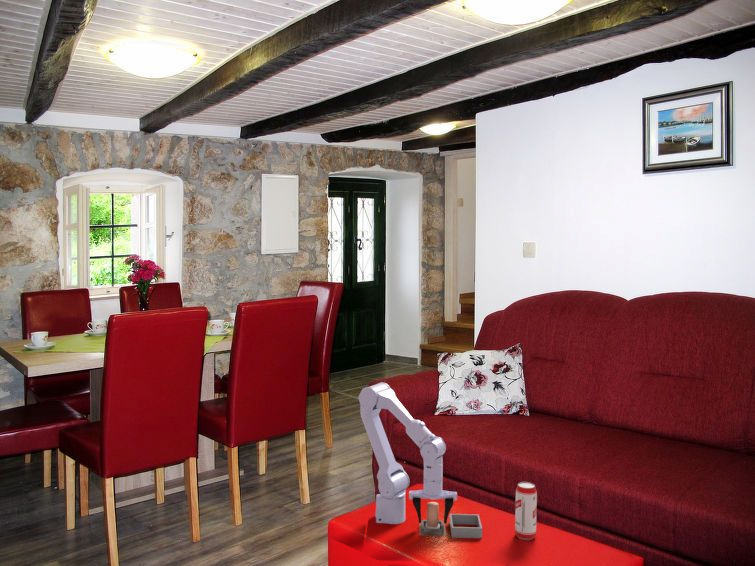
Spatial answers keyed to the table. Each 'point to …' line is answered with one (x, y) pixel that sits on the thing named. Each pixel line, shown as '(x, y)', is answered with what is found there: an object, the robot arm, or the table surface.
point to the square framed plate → (432, 531)
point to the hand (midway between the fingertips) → (432, 521)
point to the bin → (465, 531)
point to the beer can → (525, 511)
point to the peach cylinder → (432, 516)
